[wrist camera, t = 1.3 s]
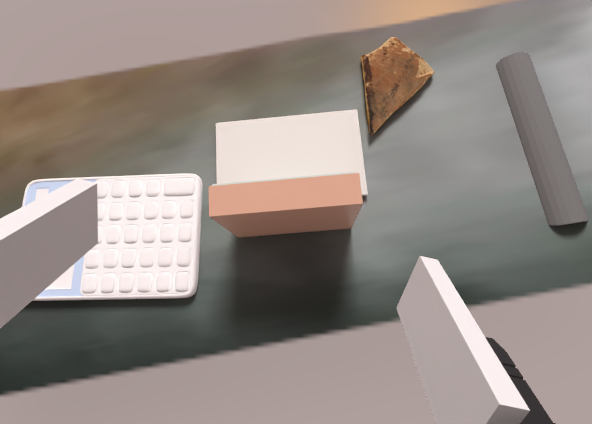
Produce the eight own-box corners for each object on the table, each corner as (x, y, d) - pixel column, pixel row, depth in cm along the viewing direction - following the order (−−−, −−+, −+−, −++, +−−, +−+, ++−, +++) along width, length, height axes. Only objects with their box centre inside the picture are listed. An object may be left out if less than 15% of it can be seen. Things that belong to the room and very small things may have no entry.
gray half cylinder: (528, 59, 40) (537, 49, 38) (586, 223, 35) (600, 219, 34) (491, 66, 40) (498, 55, 39) (544, 229, 36) (556, 226, 34)
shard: (368, 141, 39) (371, 134, 37) (320, 98, 41) (320, 90, 39) (433, 79, 40) (439, 69, 39) (384, 40, 42) (387, 29, 40)
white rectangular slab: (356, 112, 39) (356, 109, 39) (366, 195, 37) (367, 194, 36) (217, 125, 40) (215, 123, 39) (218, 208, 38) (217, 207, 37)
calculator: (199, 297, 36) (193, 298, 34) (16, 301, 37) (1, 301, 35) (205, 176, 39) (199, 170, 37) (36, 183, 40) (23, 177, 39)
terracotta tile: (348, 203, 37) (358, 170, 27) (351, 228, 36) (362, 203, 27) (237, 212, 38) (208, 183, 28) (238, 237, 37) (209, 216, 27)
